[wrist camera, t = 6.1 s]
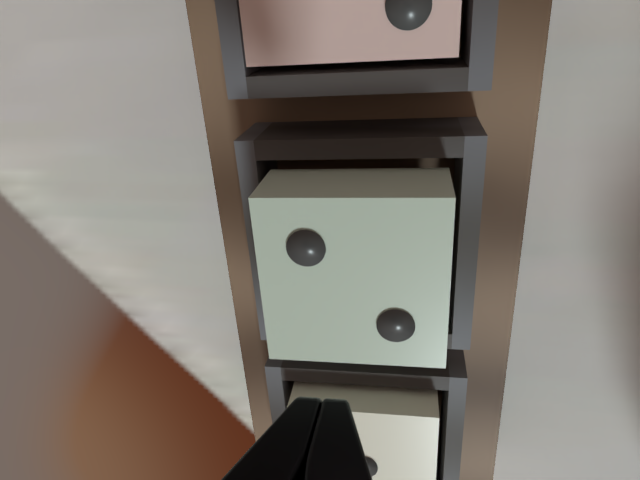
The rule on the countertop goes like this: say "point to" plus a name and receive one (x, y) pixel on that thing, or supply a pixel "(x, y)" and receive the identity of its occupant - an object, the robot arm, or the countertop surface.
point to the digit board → (389, 152)
